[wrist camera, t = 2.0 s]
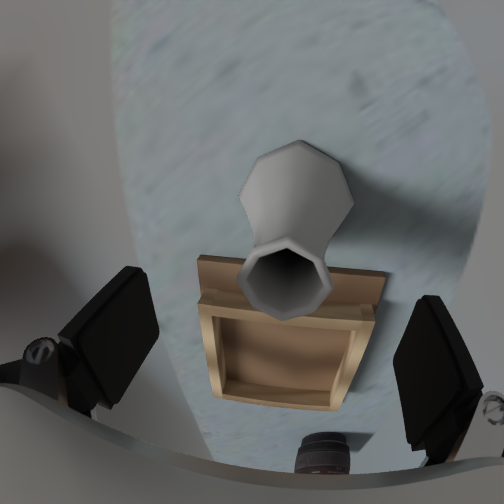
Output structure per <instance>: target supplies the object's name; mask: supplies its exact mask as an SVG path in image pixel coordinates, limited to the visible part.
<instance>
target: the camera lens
mask: <svg viewBox="0 0 504 504" xmlns="http://www.w3.org/2000/svg"><path fill="white" fill-rule="evenodd" d="M349 471H350V453H349V446H348V445H347V444H346V437H345V436H343V435H341V434H338V433H328V432H326V433H316V434H312V435H308V436H306V437H305V438H303V440H302V444H301V447H300V448H299V449H298V454H297V457H296V462H295V469H294V473H298V474H319V475H348V474H349Z"/></svg>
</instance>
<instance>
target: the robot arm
mask: <svg viewBox="0 0 504 504" xmlns="http://www.w3.org/2000/svg"><path fill="white" fill-rule="evenodd" d="M58 337H59V339H60V342H59V343H58V344H57V342H56V341H55V339H53V338H51V337H40V338H37V339H35V340H33V341H32V342H30V344H28V345H27V347H26V348H25V350H24V353H23V357H22V359H20V360H17V361H13V362H9V363H5V364H1V365H0V504H504V395H503V394H501V393H499V392H497V391H489V392H486V393H485V394H484V395H483V394H482V391H481V390H482V388H483V387H484V386H483V383H482V381H481V378H480V376H479V373H478V371H477V369H476V366H475V364H474V362H473V360H472V357H471V355H470V353H469V351H468V349H467V347H466V345H465V343H464V340H463V338H462V336H461V334H460V333H459V331H458V329H457V327H456V325H455V323H454V321H453V319H452V318H451V315H450V314H449V312H448V310H447V308H446V306H445V305H444V303H443V301H442V299H441V298H440V297H439V296H434V295H424V296H423V297H422V298H421V299H418V300H417V302H416V304H415V307H414V310H413V312H412V315H411V317H410V320H409V322H408V325H407V327H406V330H405V332H404V334H403V337H402V339H401V341H400V343H399V346H398V348H397V350H396V352H395V354H394V358H393V367H394V371H395V376H396V380H397V385H398V390H399V395H400V401H401V406H402V412H403V418H404V425H405V431H406V438H407V442H408V443H409V444H411V448H412V451H418V450H426V457H425V459H424V460H423V462H422V463H421V465H420V466H419V468H414V469H408V470H399V471H390V472H381V473H369V474H348V475H319V474H298V473H285V472H275V471H266V470H259V469H252V468H246V467H240V466H234V465H229V464H224V463H219V462H214V461H210V460H206V459H201V458H198V457H194V456H190V455H186V454H183V453H179V452H176V451H173V450H169V449H166V448H163V447H160V446H157V445H154V444H151V443H148V442H146V441H143V440H140V439H138V438H135V437H132V436H130V435H127V434H125V433H122V432H120V431H117V430H115V429H113V428H111V427H108V426H106V425H104V424H102V423H100V422H98V421H97V417H96V412H95V406H96V404H97V403H98V404H99V405H101V406H103V407H105V408H107V409H110V410H111V409H112V407H113V405H114V404H117V403H118V402H119V401H120V400H121V398H122V396H123V394H124V393H125V391H126V389H127V388H128V386H129V384H130V383H131V381H132V379H133V378H134V376H135V374H136V373H137V371H138V369H139V368H140V366H141V364H142V363H143V361H144V360H145V358H146V357H147V355H148V353H149V351H150V350H151V348H152V347H153V345H154V344H155V342H156V340H157V339H158V337H159V326H158V322H157V318H156V314H155V310H154V305H153V301H152V297H151V292H150V287H149V283H148V278H147V274H146V273H145V272H143V270H142V268H139V267H132V266H126V267H124V268H123V269H122V270H121V271H120V272H119V273H118V274H117V275H116V276H115V277H114V278H113V279H111V281H109V282H108V284H106V285H105V286H104V287H103V288H102V289H101V290H100V291H99V292H98V293H97V294H96V295H95V296H94V297H93V298H92V299H91V300H90V301H89V302H88V303H87V304H86V305H85V306H84V307H83V308H82V309H81V311H79V312H78V314H76V316H74V318H73V319H72V320H71V321H70V322H69V323H68V324H67V325H66V326H65V327H64V328H63V329H62V330H61V331H60V333H59V334H58Z"/></svg>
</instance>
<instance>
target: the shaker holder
mask: <svg viewBox="0 0 504 504" xmlns="http://www.w3.org/2000/svg"><path fill="white" fill-rule="evenodd" d="M245 261H246V259H238V258H227V257H217V256H207V255H200V256H199V258H198V259H197V266H198V275H199V283H200V291H201V298H200V300H199V302H198V303H197V304H198V310H199V317H200V324H201V330H202V336H203V342H204V348H205V354H206V359H207V365H208V370H209V376H210V381H211V386H212V391H213V396H214V397H217V398H222V399H227V400H233V401H239V402H245V403H251V404H258V405H265V406H273V407H282V408H291V409H303V410H317V411H338V409H339V407H340V405H341V403H342V401H343V399H344V397H345V395H346V393H347V391H348V388H349V386H350V384H351V382H352V380H353V377H354V375H355V373H356V370H357V368H358V366H359V363H360V361H361V359H362V356H363V354H364V351H365V349H366V346H367V344H368V341H369V338H370V336H371V333H372V330H373V328H374V325H375V322H376V321H375V317H374V314H375V311H376V308H377V305H378V302H379V298H380V295H381V292H382V289H383V285H384V282H385V278H386V277H385V274H384V272H380V271H369V270H357V269H346V268H335V267H327V268H328V271H329V273H330V275H331V278H332V280H333V283H334V289H333V290H332V292H331V293H330V294H329V295H328V296H327V298H326V299H325V300H324V301H323V302H322V304H321V305H320V306H319V307H318V308H317V310H316V311H315V312H314V313H311V314H307V315H304V316H300V317H296V318H293V319H289V320H285V321H280V320H278V319H276V318H274V317H272V316H270V315H268V314H266V313H264V312H262V311H260V310H258V309H256V308H254V307H252V306H251V304H250V303H249V301H248V299H247V298H246V296H245V294H244V293H243V291H242V289H241V288H240V286H239V284H238V283H237V281H236V277H237V275H238V273H239V271H240V270H241V268H242V266H243V264H244V263H245Z"/></svg>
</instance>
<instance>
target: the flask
mask: <svg viewBox="0 0 504 504" xmlns="http://www.w3.org/2000/svg"><path fill="white" fill-rule="evenodd" d="M238 196H239V198H240V201H241V203H242V205H243V207H244V209H245V211H246V213H247V216H248V219H249V221H250V224H251V227H252V229H253V232H254V248H253V249H252V250H251V252H250V254H249V256H248V257H247V259H246V261H245V263H244V264H243V266H242V268H241V270H240V271H239V273H238V275H237V277H236V281H237V283H238V284H239V286H240V288H241V289H242V291H243V293H244V294H245V296H246V298H247V299H248V301H249V303H250V304H251V306H252V307H254V308H256V309H258V310H260V311H262V312H264V313H266V314H268V315H270V316H272V317H274V318H276V319H278V320H280V321H285V320H289V319H293V318H296V317H300V316H304V315H307V314H311V313H314V312H315V311H316V310H317V308H318V307H319V306H320V305H321V304H322V302H323V301H324V300H325V299H326V298H327V296H328V295H329V294H330V293H331V292H332V290H333V289H334V283H333V280H332V278H331V275H330V273H329V271H328V268H327V266H326V263H325V261H324V256H325V252H326V249H327V246H328V242H329V240H330V239H331V238H332V236H333V235H334V233H335V232H336V230H337V229H338V228H339V226H340V225H341V223H342V222H343V220H344V219H345V217H346V216H347V214H348V213H349V211H350V210H351V208H352V207H353V205H354V204H355V203H354V200H353V197H352V195H351V192H350V190H349V187H348V184H347V182H346V179H345V177H344V174H343V172H342V169H341V167H340V165H339V163H338V162H336V161H335V160H333V159H331V158H330V157H328V156H326V155H325V154H323V153H321V152H320V151H318V150H316V149H314V148H313V147H311V146H309V145H307V144H305V143H304V142H302V141H300V140H297V141H295V142H292V143H290V144H288V145H285V146H283V147H281V148H278V149H276V150H274V151H272V152H269V153H267V154H265V155H263V156H261V157H258V158H257V160H256V162H255V164H254V165H253V167H252V169H251V171H250V173H249V175H248V177H247V179H246V181H245V183H244V185H243V187H242V189H241V191H240V193H239V195H238Z"/></svg>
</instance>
